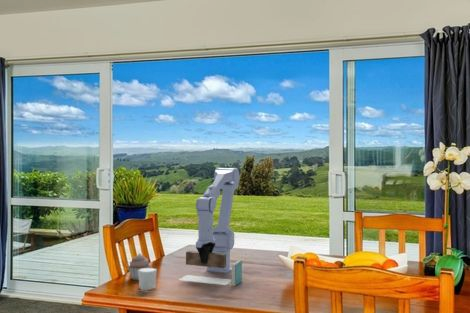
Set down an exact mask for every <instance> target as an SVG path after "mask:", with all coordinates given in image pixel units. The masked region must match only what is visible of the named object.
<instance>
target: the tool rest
mask: <svg viewBox="0 0 470 313" xmlns="http://www.w3.org/2000/svg"><path fill="white" fill-rule="evenodd" d="M178 281H181V282H182V281H184V282H194V283H202V284H211V285H219V286H220V285H221V286H227V285H228V284H230V283H232V278H231V279H230V278H221V277H209V276H201V275H193V274H192V275H191V274H186V275H184V276H182V277H181V278H179V279H178Z"/></svg>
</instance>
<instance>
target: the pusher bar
mask: <svg viewBox="0 0 470 313" xmlns="http://www.w3.org/2000/svg"><path fill="white" fill-rule="evenodd" d="M185 265H188V266H197V267H206V268H207V267H216V268H225V267H226V254H222V253H210V252H209V254H208V261H207V264H203V263H201V259H200V255H199V252H198V250H196V251H195V250H187V251H185Z"/></svg>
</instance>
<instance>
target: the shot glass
mask: <svg viewBox="0 0 470 313" xmlns="http://www.w3.org/2000/svg"><path fill="white" fill-rule="evenodd" d="M157 272H158V271H157V268H154V267H151V268H141V269H139V270H138V277H139V280H138V284H139V286H138V287H139V290H140V291H144V292H146V291H147V292H149V291H150V290H154V289H155V288H156V281H157Z"/></svg>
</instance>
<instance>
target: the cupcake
mask: <svg viewBox="0 0 470 313" xmlns="http://www.w3.org/2000/svg"><path fill="white" fill-rule="evenodd" d="M127 266H128V267H127V269H128V270H129V273H130V278H131V280H133V281H139V277H138V270H139V269H141V268H152V264H150V263H149V259H148V258H147V257H146V256H144V255H143V254H141V253H138V254H137V255H136V256H135V257H132V259H131V261H130V262H129V265H127Z"/></svg>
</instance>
